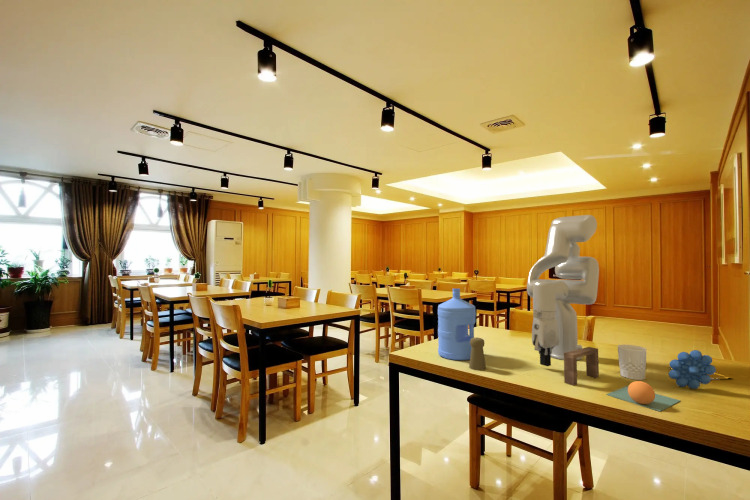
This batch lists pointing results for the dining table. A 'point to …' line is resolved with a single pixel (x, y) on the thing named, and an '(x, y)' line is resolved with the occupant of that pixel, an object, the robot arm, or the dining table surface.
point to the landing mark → (657, 404)
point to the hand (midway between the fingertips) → (545, 365)
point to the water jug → (455, 327)
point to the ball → (641, 392)
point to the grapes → (691, 369)
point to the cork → (477, 354)
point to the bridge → (571, 364)
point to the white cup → (632, 361)
